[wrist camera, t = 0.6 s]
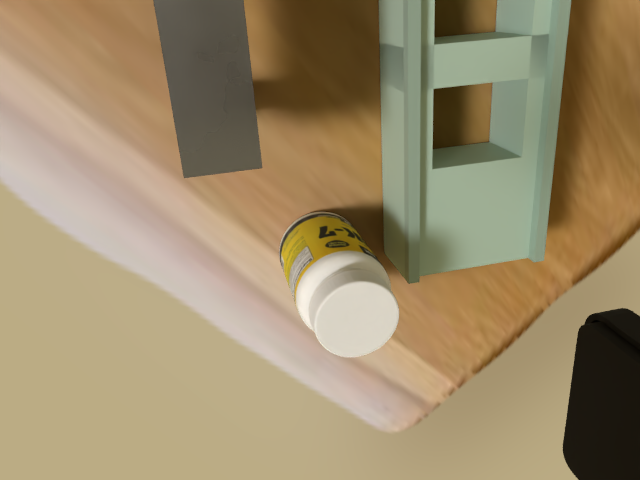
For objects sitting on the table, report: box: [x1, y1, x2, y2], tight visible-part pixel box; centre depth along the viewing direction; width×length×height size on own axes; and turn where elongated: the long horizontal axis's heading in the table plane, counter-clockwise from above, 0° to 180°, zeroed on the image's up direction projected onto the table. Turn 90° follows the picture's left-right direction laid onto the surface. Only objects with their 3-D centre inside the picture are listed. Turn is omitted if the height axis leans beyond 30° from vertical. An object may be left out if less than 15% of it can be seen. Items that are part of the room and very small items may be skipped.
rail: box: [379, 0, 571, 284], centre depth 28 cm, size 22×8×4 cm, turn 4°
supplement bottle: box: [279, 212, 399, 357], centre depth 29 cm, size 5×5×8 cm
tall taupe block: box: [154, 0, 262, 178], centre depth 23 cm, size 9×3×8 cm, turn 4°
